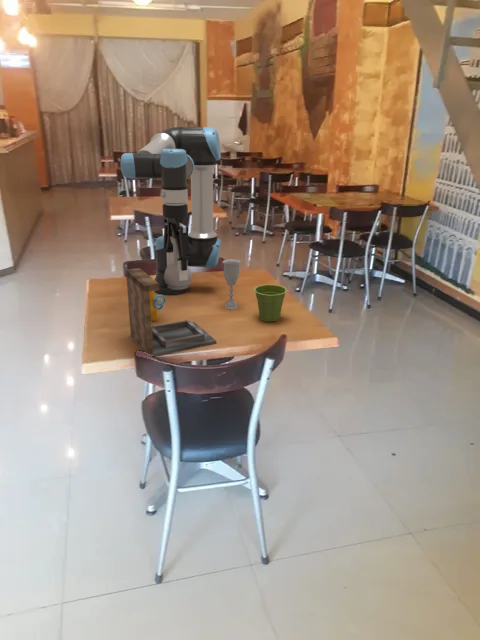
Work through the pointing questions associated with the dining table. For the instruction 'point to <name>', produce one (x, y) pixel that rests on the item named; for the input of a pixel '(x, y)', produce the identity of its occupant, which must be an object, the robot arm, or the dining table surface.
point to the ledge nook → (158, 336)
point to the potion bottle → (175, 271)
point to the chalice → (231, 279)
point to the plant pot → (270, 301)
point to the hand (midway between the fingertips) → (177, 275)
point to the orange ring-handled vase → (155, 305)
